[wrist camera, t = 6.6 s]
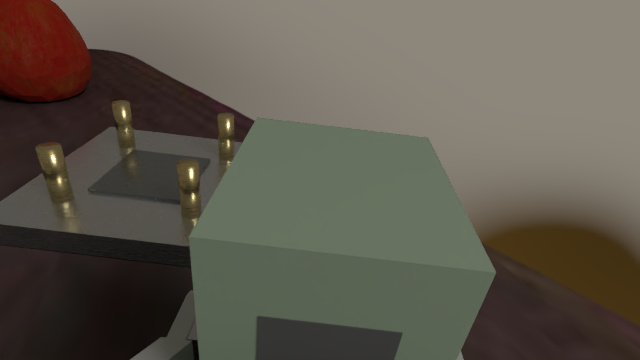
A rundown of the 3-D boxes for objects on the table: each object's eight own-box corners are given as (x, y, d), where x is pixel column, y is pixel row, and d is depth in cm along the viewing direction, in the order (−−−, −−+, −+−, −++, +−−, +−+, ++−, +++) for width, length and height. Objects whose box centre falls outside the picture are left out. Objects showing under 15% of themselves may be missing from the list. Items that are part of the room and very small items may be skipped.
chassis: (-19, 242, 21) (-53, 164, 19) (113, 142, 33) (103, 87, 31) (227, 271, 21) (225, 197, 19) (269, 161, 33) (271, 107, 31)
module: (215, 549, 11) (188, 237, 5) (251, 387, 16) (257, 116, 10) (363, 566, 11) (496, 273, 5) (357, 399, 16) (427, 137, 10)
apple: (12, 78, 45) (-17, -20, 40) (107, 82, 48) (91, -10, 42) (-36, 107, 36) (-82, -13, 31) (82, 110, 39) (59, -1, 34)
